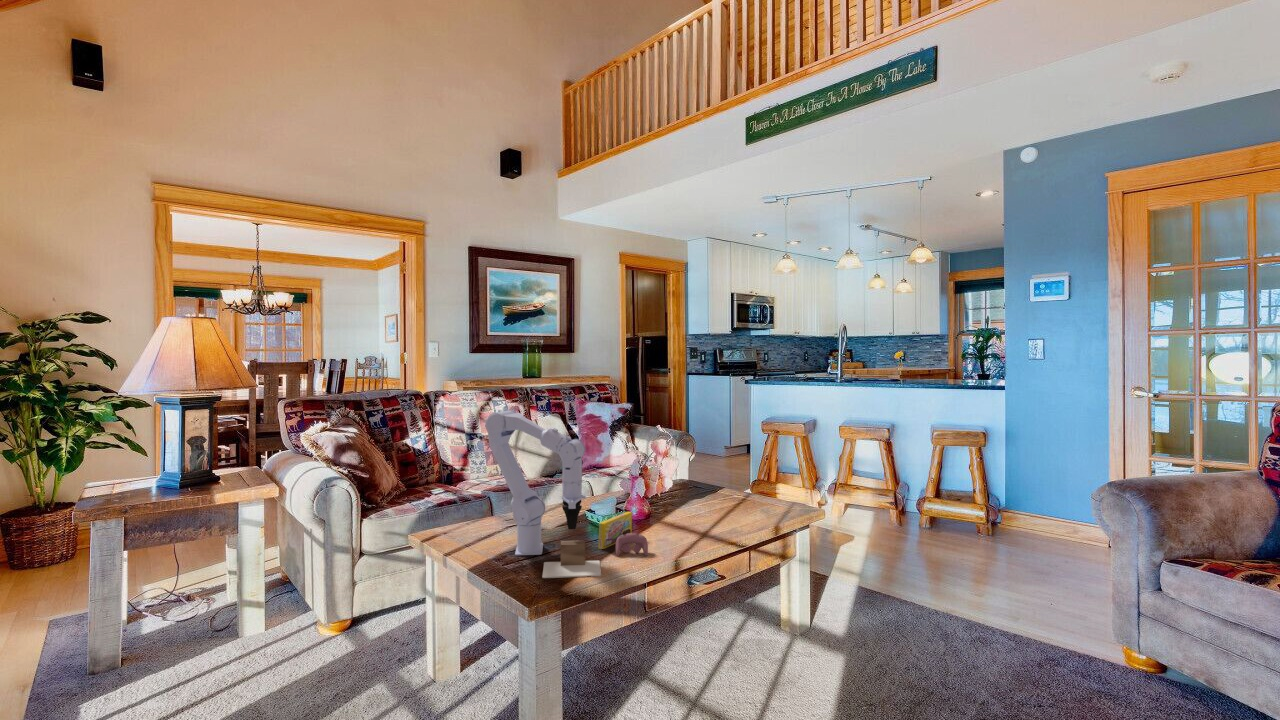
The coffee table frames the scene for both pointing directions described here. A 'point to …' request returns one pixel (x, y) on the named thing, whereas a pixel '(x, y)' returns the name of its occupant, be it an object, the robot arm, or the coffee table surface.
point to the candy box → (614, 529)
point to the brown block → (573, 552)
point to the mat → (571, 570)
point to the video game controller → (631, 538)
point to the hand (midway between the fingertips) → (571, 526)
